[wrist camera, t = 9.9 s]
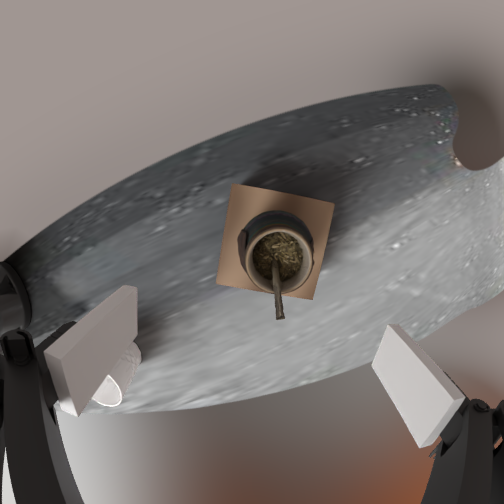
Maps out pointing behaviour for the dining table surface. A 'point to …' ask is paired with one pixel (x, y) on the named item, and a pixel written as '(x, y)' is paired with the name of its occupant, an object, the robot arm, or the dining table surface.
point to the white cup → (119, 378)
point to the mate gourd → (276, 253)
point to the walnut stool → (261, 200)
